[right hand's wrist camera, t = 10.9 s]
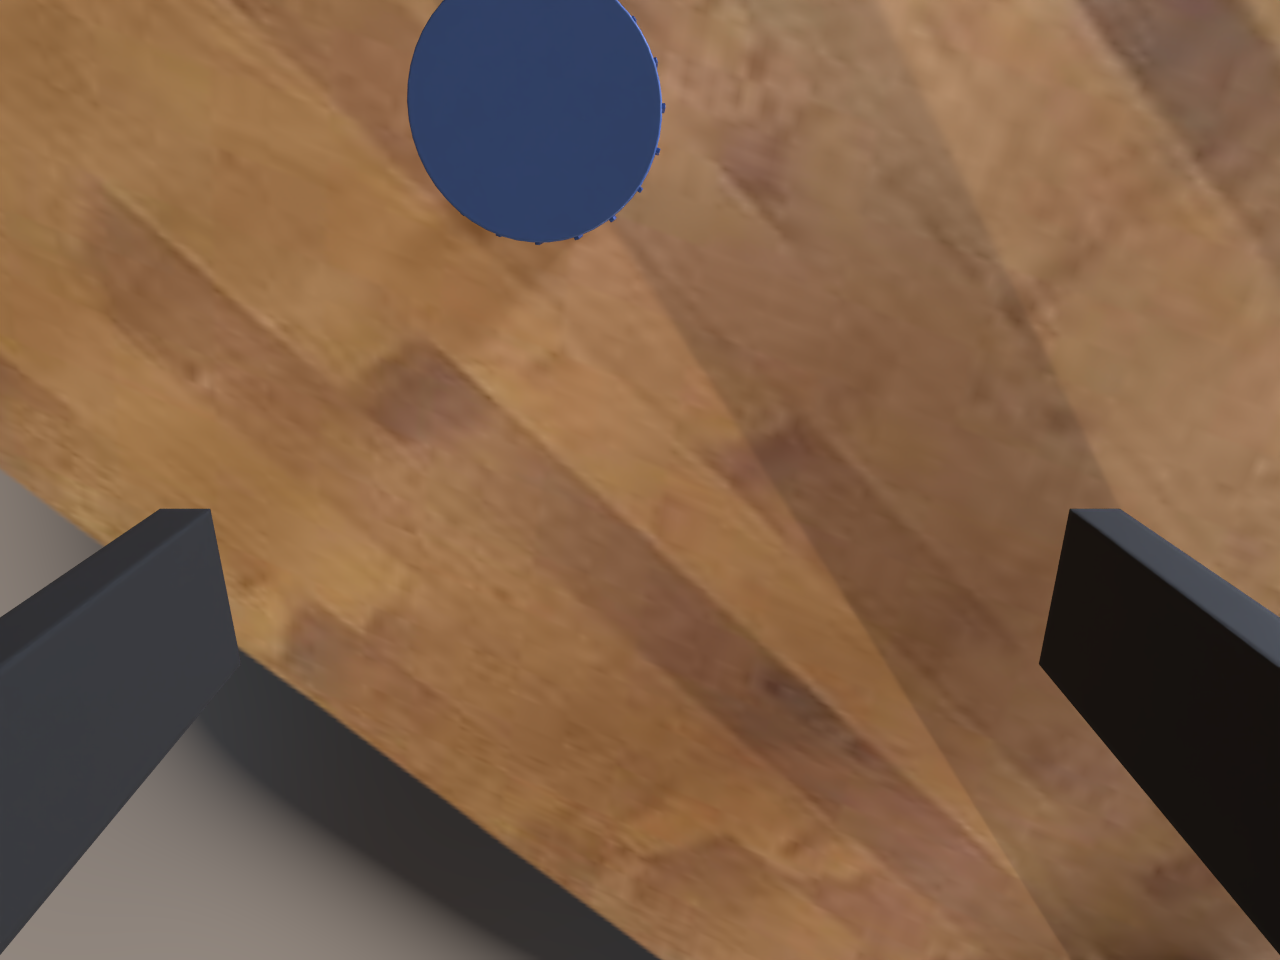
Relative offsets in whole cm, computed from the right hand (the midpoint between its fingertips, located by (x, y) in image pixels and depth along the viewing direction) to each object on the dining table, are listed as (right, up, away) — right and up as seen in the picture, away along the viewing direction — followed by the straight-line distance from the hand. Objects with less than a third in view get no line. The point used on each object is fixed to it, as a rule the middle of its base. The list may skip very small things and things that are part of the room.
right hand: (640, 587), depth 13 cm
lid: (-2, +10, +5) cm, 11 cm away
